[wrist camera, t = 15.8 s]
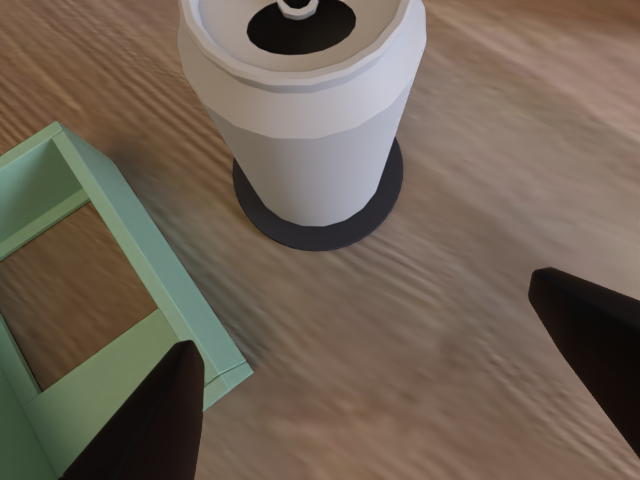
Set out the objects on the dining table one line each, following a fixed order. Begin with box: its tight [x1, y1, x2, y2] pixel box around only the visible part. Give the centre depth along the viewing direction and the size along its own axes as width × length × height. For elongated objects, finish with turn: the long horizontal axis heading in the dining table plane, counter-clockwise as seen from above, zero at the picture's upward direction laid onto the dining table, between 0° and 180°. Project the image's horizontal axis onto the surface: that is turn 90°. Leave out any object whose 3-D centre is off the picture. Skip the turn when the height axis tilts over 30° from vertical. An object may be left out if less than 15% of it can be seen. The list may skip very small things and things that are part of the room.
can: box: [177, 0, 426, 226], centre depth 15 cm, size 8×8×12 cm
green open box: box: [0, 121, 253, 480], centre depth 17 cm, size 15×11×4 cm
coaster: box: [233, 137, 403, 251], centre depth 21 cm, size 10×10×1 cm
